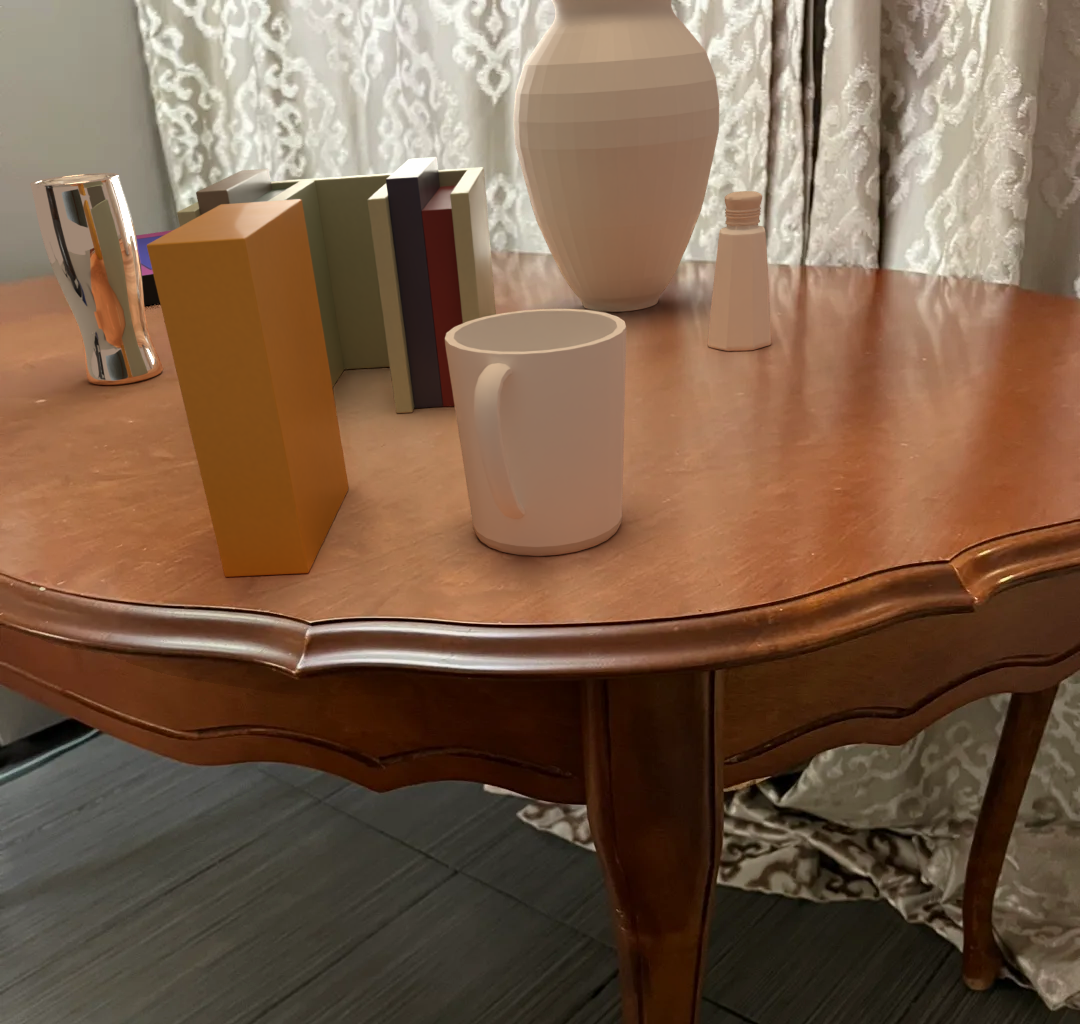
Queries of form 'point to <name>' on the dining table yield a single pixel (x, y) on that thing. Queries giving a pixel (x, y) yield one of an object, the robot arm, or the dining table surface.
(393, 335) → the bookrack
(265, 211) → the ochre book
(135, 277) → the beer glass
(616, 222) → the vase
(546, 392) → the mug
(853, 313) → the dining table surface
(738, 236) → the pepper shaker
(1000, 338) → the dining table surface
